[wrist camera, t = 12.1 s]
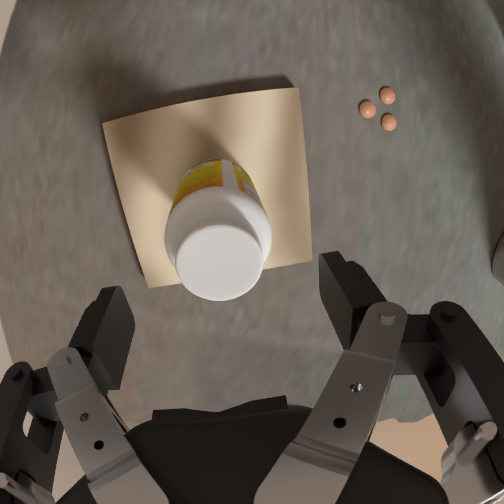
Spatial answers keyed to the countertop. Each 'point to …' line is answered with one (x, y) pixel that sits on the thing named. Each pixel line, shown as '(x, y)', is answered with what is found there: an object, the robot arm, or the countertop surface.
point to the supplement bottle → (217, 231)
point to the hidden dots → (369, 109)
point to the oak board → (213, 147)
